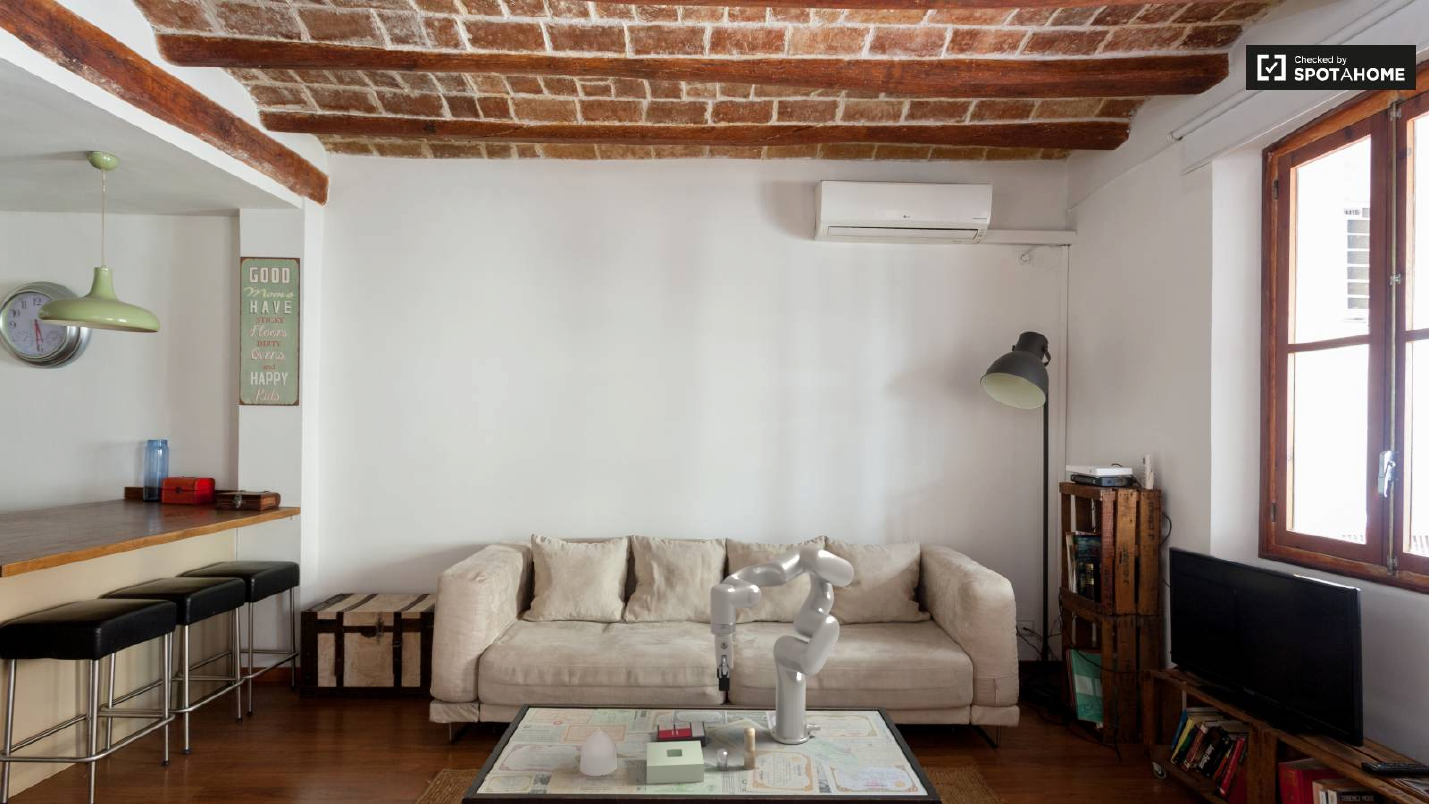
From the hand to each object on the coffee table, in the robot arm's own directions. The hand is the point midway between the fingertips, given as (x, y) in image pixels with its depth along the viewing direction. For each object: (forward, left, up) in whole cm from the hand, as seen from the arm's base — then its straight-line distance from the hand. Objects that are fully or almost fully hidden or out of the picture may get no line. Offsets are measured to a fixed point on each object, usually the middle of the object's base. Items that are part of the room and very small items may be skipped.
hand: (723, 684), depth 218 cm
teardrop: (+37, +1, -23) cm, 43 cm away
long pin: (-7, +5, -23) cm, 24 cm away
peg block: (+15, +5, -23) cm, 27 cm away
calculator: (+12, -14, -23) cm, 30 cm away
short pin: (+1, +5, -23) cm, 23 cm away
